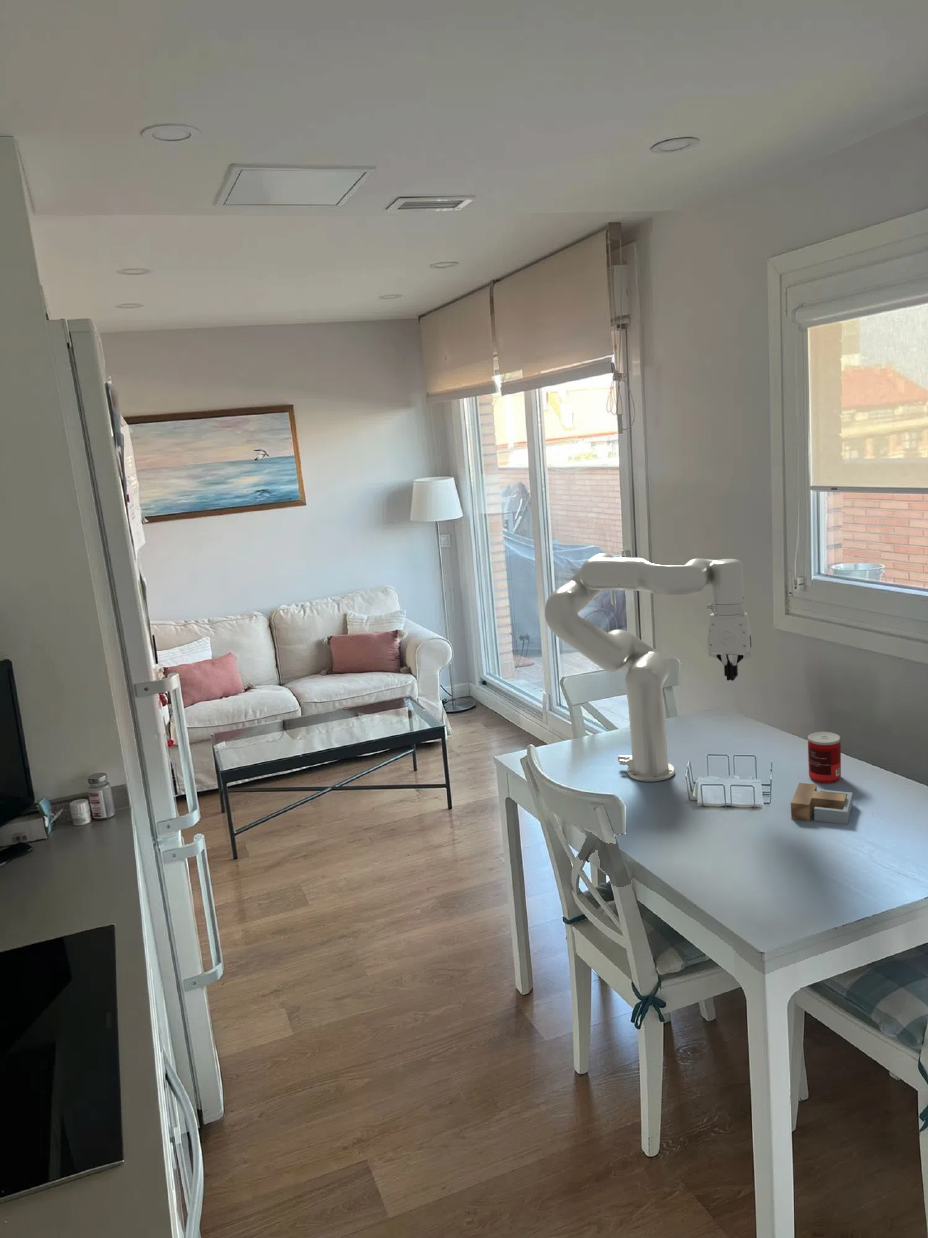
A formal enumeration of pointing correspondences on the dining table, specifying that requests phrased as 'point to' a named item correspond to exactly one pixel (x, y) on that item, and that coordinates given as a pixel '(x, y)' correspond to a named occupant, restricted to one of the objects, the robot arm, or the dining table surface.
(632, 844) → the dining table surface
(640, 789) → the dining table surface
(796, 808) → the t block
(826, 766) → the canned food
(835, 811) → the bracket
